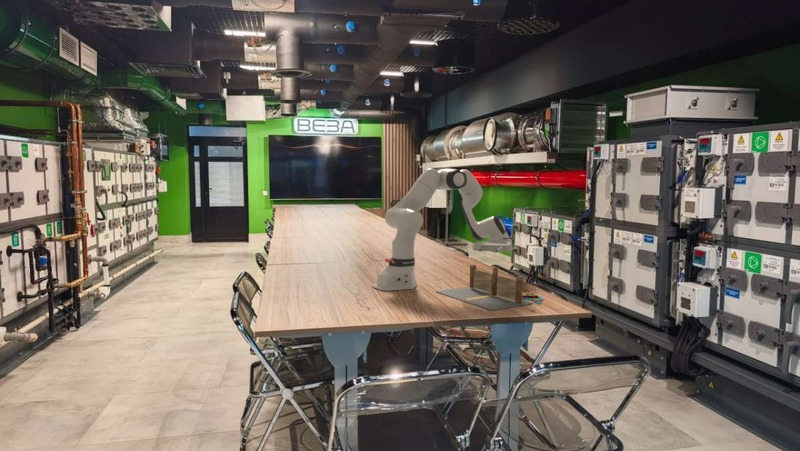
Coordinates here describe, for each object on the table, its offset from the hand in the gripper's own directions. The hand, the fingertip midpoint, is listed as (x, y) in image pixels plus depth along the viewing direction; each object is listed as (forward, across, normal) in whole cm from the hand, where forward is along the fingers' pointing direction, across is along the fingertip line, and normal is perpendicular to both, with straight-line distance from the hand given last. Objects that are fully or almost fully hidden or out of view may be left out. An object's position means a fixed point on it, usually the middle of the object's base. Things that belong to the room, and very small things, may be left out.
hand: (488, 250), depth 268 cm
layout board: (+33, +6, +14) cm, 36 cm away
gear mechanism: (+24, +26, +16) cm, 39 cm away
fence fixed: (+31, +16, +14) cm, 38 cm away
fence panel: (+22, +2, +14) cm, 26 cm away
